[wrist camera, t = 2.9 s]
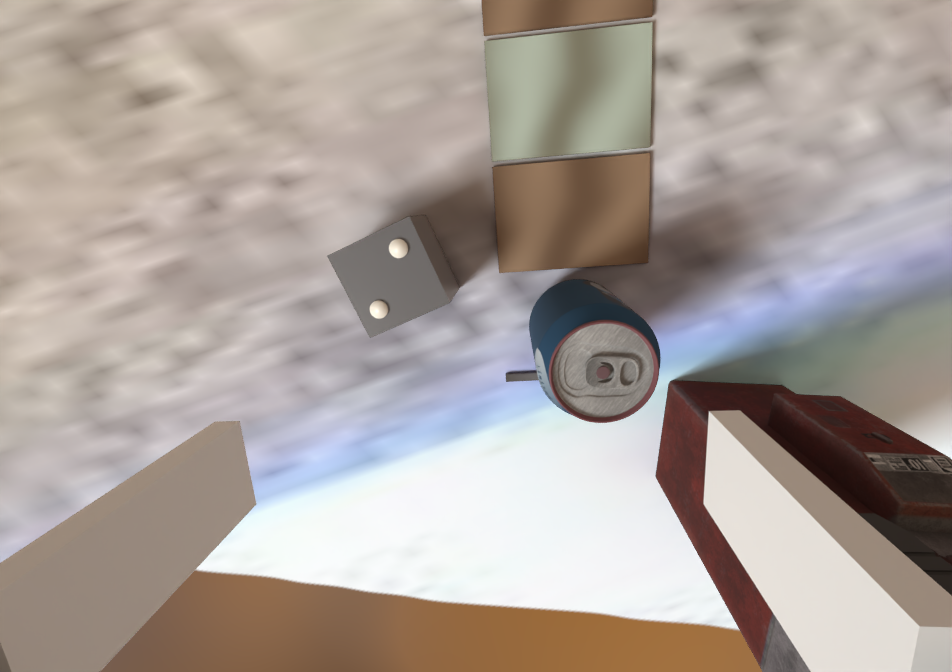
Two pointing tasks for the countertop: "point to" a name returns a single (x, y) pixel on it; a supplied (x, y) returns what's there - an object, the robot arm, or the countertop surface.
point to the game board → (569, 133)
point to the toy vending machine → (823, 454)
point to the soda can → (593, 352)
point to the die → (395, 274)
